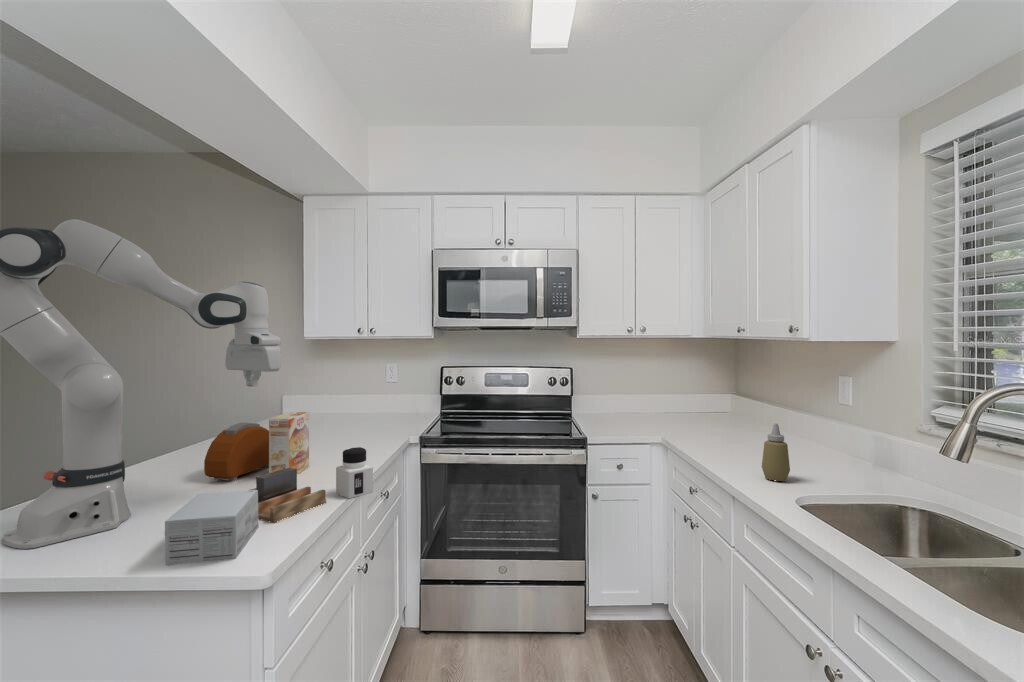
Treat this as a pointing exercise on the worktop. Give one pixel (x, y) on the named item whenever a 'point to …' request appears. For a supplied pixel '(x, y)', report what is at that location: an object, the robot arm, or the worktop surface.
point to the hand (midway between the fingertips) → (252, 386)
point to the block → (276, 483)
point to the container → (354, 474)
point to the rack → (290, 504)
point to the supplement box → (211, 527)
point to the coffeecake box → (289, 442)
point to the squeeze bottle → (775, 456)
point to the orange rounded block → (237, 451)
